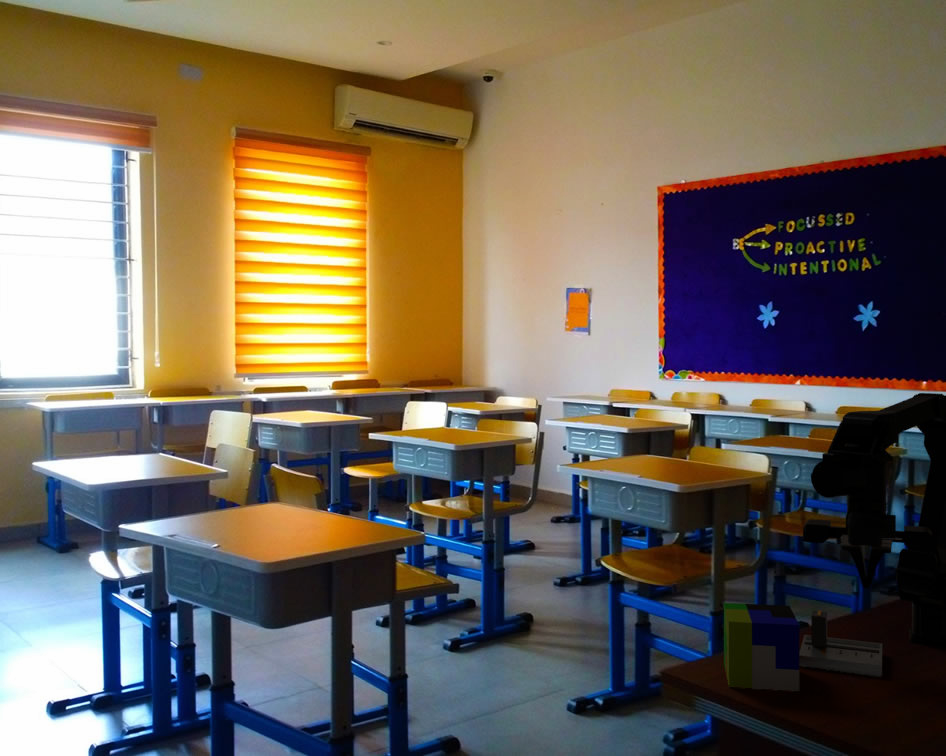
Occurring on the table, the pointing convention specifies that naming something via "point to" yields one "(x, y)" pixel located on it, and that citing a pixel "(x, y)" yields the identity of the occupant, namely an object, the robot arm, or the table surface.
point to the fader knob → (819, 628)
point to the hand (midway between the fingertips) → (866, 587)
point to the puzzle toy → (761, 646)
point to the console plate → (843, 656)
